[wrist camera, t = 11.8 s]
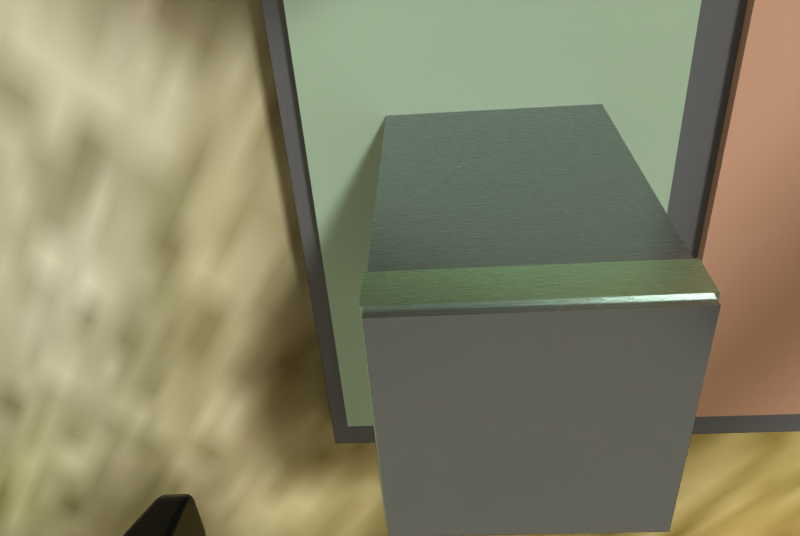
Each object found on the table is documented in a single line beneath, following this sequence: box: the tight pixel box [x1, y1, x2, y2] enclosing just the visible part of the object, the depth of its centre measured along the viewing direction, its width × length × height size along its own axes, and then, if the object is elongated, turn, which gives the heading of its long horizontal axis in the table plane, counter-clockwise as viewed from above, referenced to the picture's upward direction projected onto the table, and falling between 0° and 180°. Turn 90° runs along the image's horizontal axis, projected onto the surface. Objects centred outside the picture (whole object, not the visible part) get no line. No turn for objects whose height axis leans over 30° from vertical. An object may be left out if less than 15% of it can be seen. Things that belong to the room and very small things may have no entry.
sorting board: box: [261, 0, 800, 443], centre depth 16 cm, size 18×16×1 cm
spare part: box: [359, 104, 721, 536], centre depth 13 cm, size 5×5×7 cm
